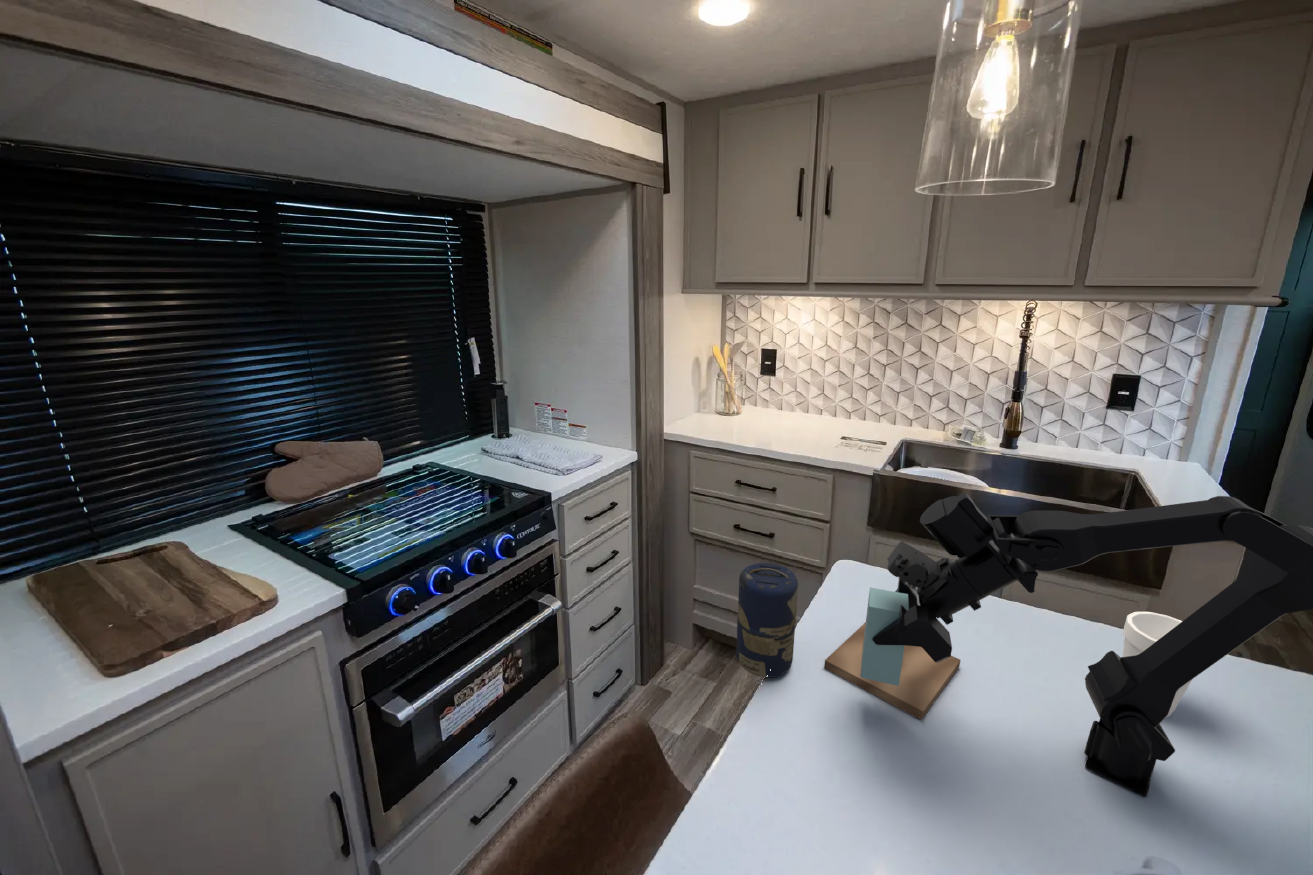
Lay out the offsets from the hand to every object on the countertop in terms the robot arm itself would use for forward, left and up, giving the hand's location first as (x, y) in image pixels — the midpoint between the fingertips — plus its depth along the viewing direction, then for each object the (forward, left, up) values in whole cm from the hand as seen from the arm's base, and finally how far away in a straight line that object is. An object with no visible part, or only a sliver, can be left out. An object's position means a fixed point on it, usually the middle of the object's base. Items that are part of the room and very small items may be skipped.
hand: (874, 630), depth 83 cm
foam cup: (-30, -31, -14) cm, 46 cm away
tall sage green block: (-1, -1, -7) cm, 7 cm away
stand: (+1, -11, -13) cm, 18 cm away
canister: (+17, +3, -14) cm, 22 cm away
